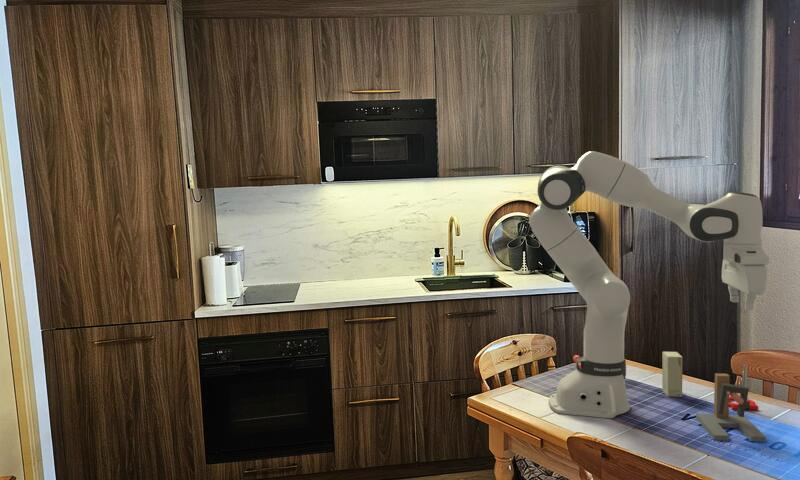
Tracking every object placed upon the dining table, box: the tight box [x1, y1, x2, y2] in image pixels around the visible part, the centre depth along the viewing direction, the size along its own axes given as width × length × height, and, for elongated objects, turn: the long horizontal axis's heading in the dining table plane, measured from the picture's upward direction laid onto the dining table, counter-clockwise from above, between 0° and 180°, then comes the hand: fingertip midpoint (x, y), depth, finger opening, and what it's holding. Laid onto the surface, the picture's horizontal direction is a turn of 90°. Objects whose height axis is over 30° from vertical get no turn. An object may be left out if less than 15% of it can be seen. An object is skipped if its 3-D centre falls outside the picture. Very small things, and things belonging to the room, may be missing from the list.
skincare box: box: [661, 351, 683, 398], centre depth 184 cm, size 6×4×12 cm
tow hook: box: [729, 363, 759, 411], centre depth 174 cm, size 8×13×9 cm
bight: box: [716, 383, 749, 417], centre depth 155 cm, size 6×2×8 cm, turn 81°
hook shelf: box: [695, 372, 767, 442], centre depth 157 cm, size 12×14×13 cm
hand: (741, 305), depth 161 cm, fingers open, 8 cm apart
